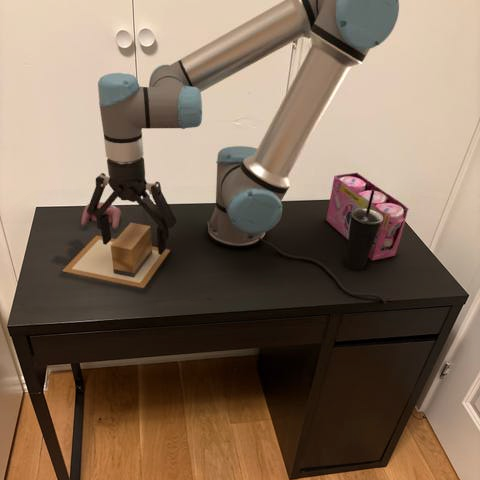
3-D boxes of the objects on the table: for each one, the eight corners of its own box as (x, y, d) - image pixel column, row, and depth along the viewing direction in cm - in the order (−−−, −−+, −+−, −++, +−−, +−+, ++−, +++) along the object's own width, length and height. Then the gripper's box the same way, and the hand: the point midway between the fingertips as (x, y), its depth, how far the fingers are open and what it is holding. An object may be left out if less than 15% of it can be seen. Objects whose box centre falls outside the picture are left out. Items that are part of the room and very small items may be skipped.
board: (170, 253, 127) (170, 249, 126) (144, 292, 114) (143, 287, 113) (96, 239, 130) (96, 235, 129) (62, 275, 117) (61, 270, 116)
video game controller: (121, 230, 137) (122, 204, 135) (116, 231, 132) (117, 204, 131) (85, 227, 137) (86, 200, 136) (79, 227, 133) (80, 200, 131)
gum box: (399, 258, 132) (414, 211, 123) (374, 264, 129) (387, 216, 120) (347, 216, 148) (357, 171, 139) (324, 220, 145) (333, 175, 137)
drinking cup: (372, 260, 130) (391, 187, 117) (368, 276, 124) (388, 201, 112) (342, 253, 132) (358, 181, 119) (337, 268, 126) (353, 194, 113)
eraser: (152, 253, 124) (150, 226, 119) (134, 277, 116) (131, 249, 111) (133, 249, 125) (131, 222, 120) (113, 273, 117) (110, 245, 112)
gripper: (189, 159, 105) (190, 247, 118) (78, 142, 109) (92, 229, 123) (176, 173, 99) (180, 264, 113) (60, 155, 103) (77, 245, 117)
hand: (134, 246), depth 118 cm, fingers open, 13 cm apart
